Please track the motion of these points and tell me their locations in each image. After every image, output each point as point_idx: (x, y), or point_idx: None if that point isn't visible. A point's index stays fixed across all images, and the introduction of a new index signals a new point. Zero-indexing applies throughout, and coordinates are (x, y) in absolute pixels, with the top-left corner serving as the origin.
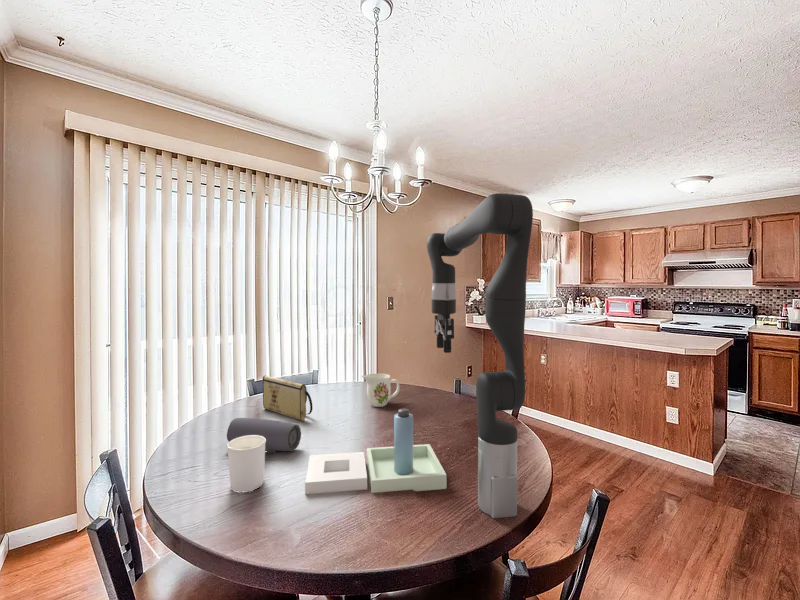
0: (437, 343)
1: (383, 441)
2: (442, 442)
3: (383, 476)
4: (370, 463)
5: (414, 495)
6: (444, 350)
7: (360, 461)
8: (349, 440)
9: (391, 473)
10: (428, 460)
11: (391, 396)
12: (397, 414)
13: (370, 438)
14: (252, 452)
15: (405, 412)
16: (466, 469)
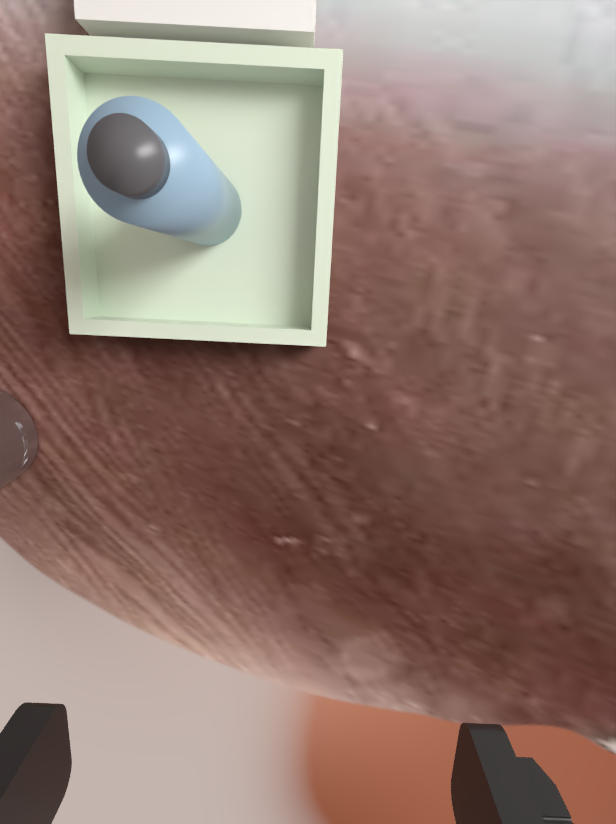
0: (490, 792)
1: (506, 179)
2: (426, 421)
3: None
4: (188, 48)
5: None
6: (11, 727)
7: (220, 3)
8: (568, 5)
9: None
10: (267, 321)
11: None
12: (164, 126)
13: (558, 120)
14: None
15: (89, 160)
16: (203, 431)
